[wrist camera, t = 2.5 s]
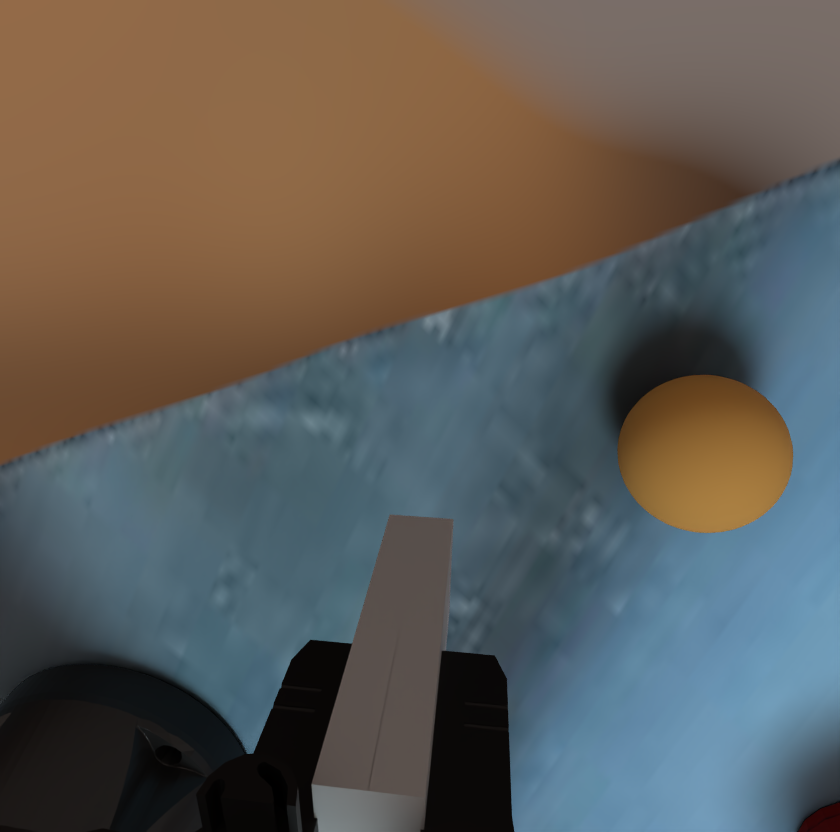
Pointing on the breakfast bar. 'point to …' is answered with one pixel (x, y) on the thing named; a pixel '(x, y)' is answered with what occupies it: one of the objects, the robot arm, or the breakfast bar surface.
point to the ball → (705, 453)
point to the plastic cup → (823, 820)
